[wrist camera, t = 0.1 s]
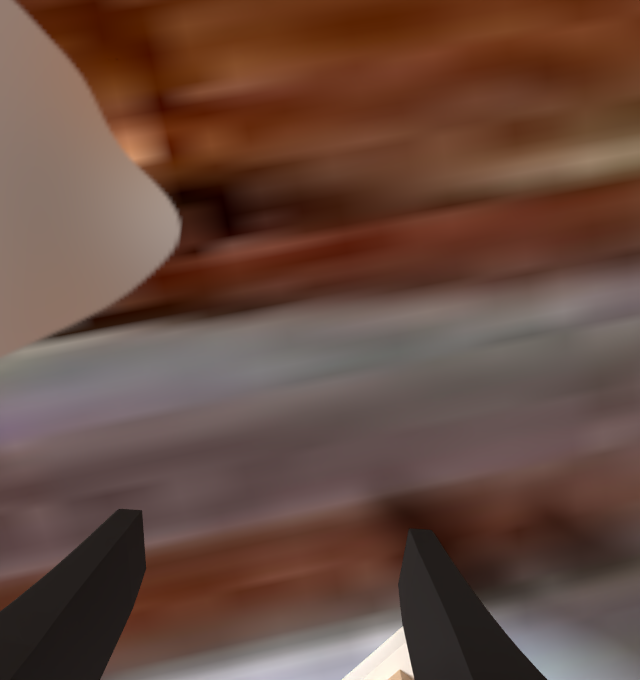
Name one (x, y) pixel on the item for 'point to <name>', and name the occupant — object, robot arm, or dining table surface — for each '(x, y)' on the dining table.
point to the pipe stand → (386, 662)
